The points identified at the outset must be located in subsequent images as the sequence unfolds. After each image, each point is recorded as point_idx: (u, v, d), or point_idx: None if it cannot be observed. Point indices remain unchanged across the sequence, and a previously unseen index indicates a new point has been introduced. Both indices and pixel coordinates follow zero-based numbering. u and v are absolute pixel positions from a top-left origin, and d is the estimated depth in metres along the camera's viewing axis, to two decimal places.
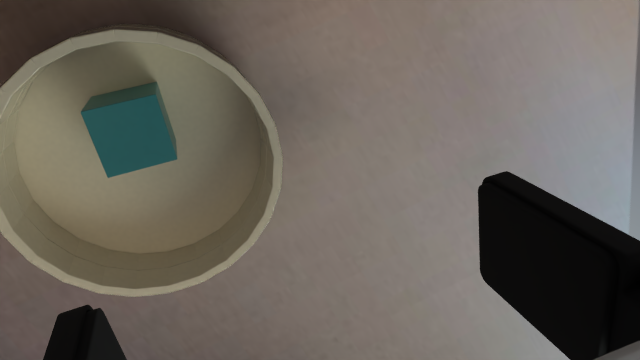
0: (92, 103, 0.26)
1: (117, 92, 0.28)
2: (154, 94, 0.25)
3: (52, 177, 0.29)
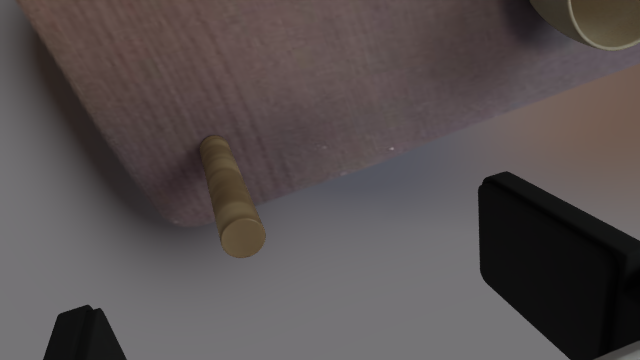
0: None
1: None
2: None
3: None
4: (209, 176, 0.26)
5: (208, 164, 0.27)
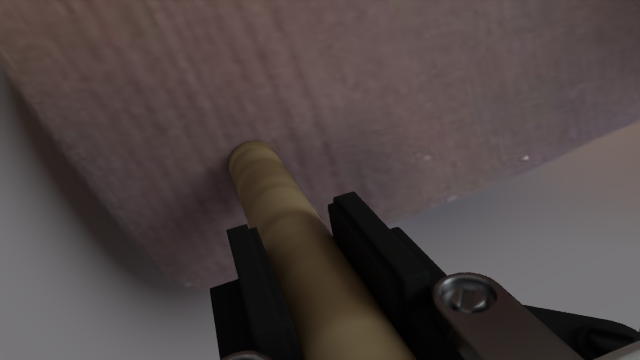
0: None
1: None
2: None
3: None
4: (260, 226, 0.13)
5: (253, 198, 0.14)
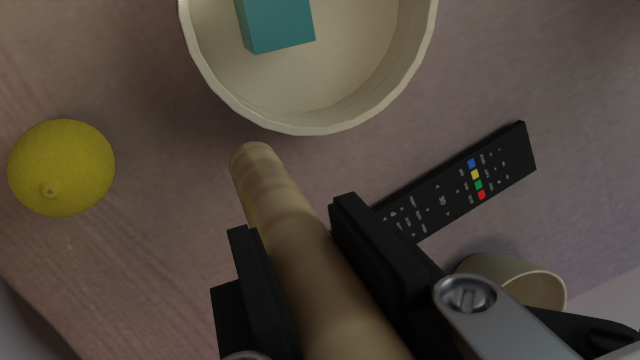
0: (248, 45, 0.29)
1: (240, 23, 0.30)
2: None
3: (314, 88, 0.34)
4: (260, 227, 0.13)
5: (254, 199, 0.14)
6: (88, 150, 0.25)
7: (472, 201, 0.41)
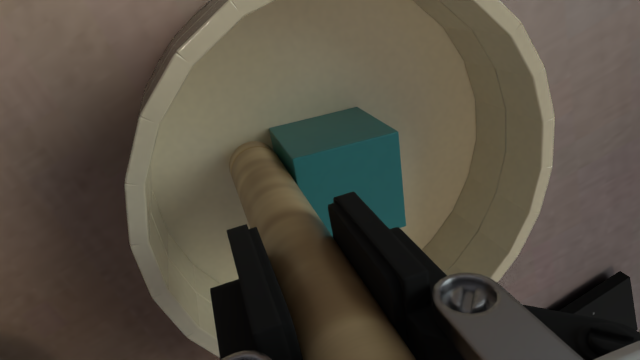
0: None
1: None
2: (292, 159, 0.16)
3: None
4: (260, 227, 0.13)
5: (253, 199, 0.14)
6: None
7: None
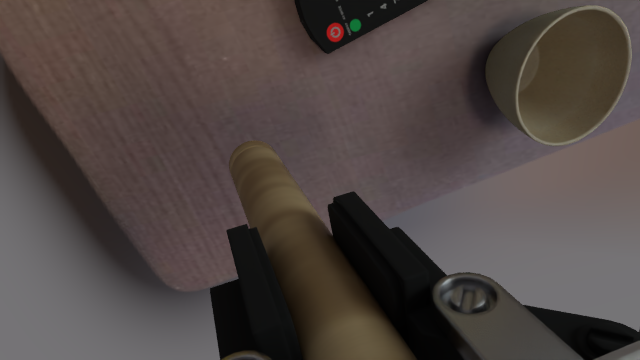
0: None
1: None
2: None
3: None
4: (260, 226, 0.13)
5: (254, 198, 0.14)
6: None
7: None
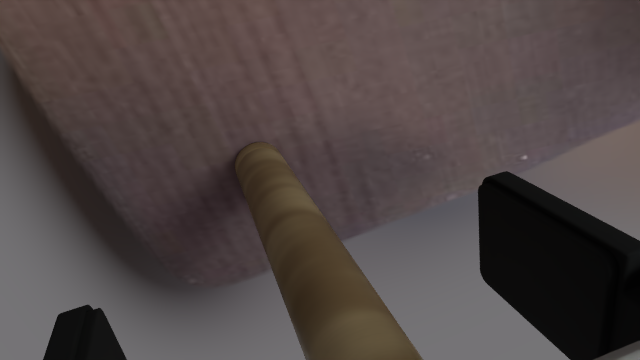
0: None
1: None
2: None
3: None
4: (267, 225, 0.13)
5: (260, 198, 0.14)
6: None
7: None
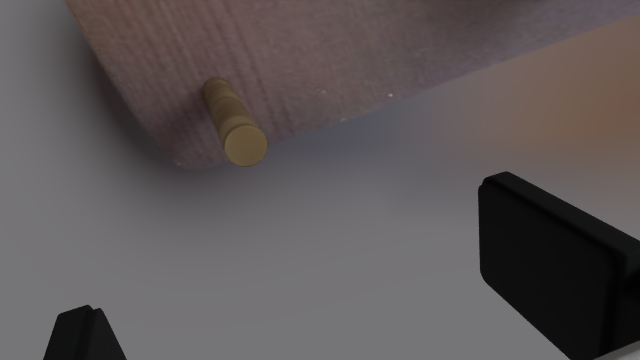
0: None
1: None
2: None
3: None
4: (212, 105, 0.26)
5: (211, 97, 0.28)
6: None
7: None
